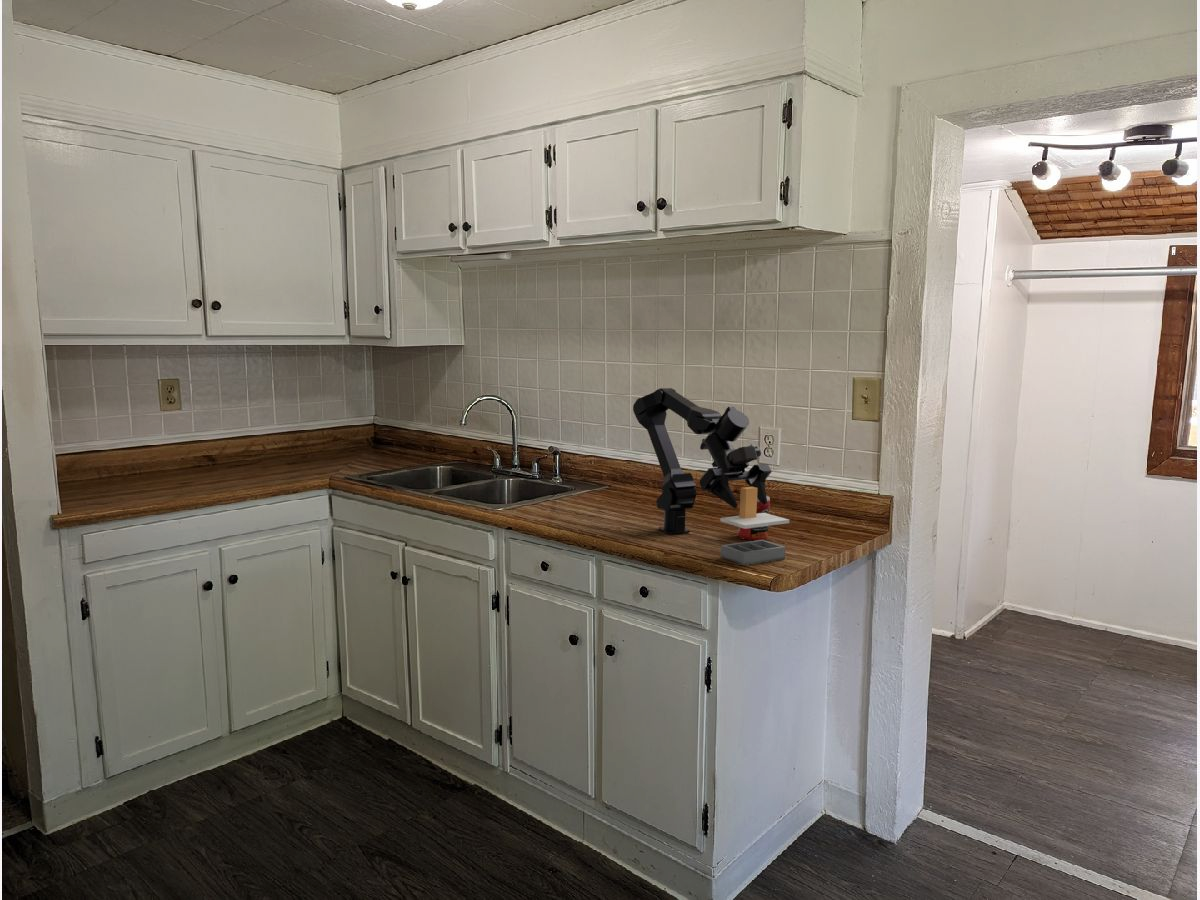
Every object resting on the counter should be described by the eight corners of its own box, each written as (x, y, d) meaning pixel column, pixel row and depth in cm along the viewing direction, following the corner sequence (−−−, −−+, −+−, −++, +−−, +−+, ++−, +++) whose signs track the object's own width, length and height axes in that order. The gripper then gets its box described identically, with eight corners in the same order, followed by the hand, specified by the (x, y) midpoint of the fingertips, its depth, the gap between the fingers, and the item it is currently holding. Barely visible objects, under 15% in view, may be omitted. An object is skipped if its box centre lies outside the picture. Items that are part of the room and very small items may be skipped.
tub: (720, 557, 203) (721, 545, 203) (761, 551, 210) (762, 539, 210) (743, 565, 197) (744, 553, 196) (784, 559, 204) (785, 546, 203)
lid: (720, 521, 202) (721, 488, 201) (763, 515, 209) (765, 484, 208) (744, 528, 195) (746, 495, 194) (789, 522, 202) (790, 490, 201)
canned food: (753, 542, 219) (755, 500, 218) (731, 536, 226) (733, 495, 224) (774, 538, 224) (776, 497, 222) (752, 532, 230) (754, 492, 229)
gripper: (709, 434, 200) (738, 489, 192) (768, 431, 210) (798, 483, 202) (687, 462, 208) (714, 516, 200) (745, 458, 218) (773, 509, 210)
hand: (751, 505), depth 203 cm, fingers open, 9 cm apart
